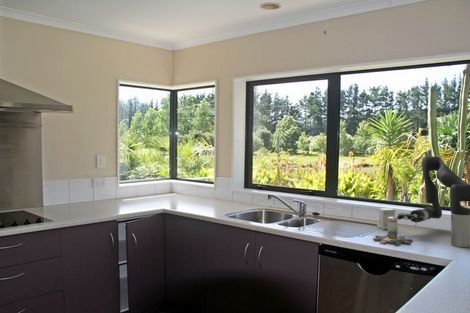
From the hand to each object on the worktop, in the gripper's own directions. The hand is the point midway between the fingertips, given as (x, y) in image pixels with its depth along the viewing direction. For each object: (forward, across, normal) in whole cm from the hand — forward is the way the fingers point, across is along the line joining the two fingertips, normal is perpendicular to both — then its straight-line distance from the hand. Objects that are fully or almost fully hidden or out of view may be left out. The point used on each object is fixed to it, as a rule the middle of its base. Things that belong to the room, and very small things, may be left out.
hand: (404, 218), depth 227 cm
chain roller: (+12, 0, +10) cm, 16 cm away
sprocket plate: (+12, 0, +11) cm, 17 cm away
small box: (-14, -20, +11) cm, 27 cm away
